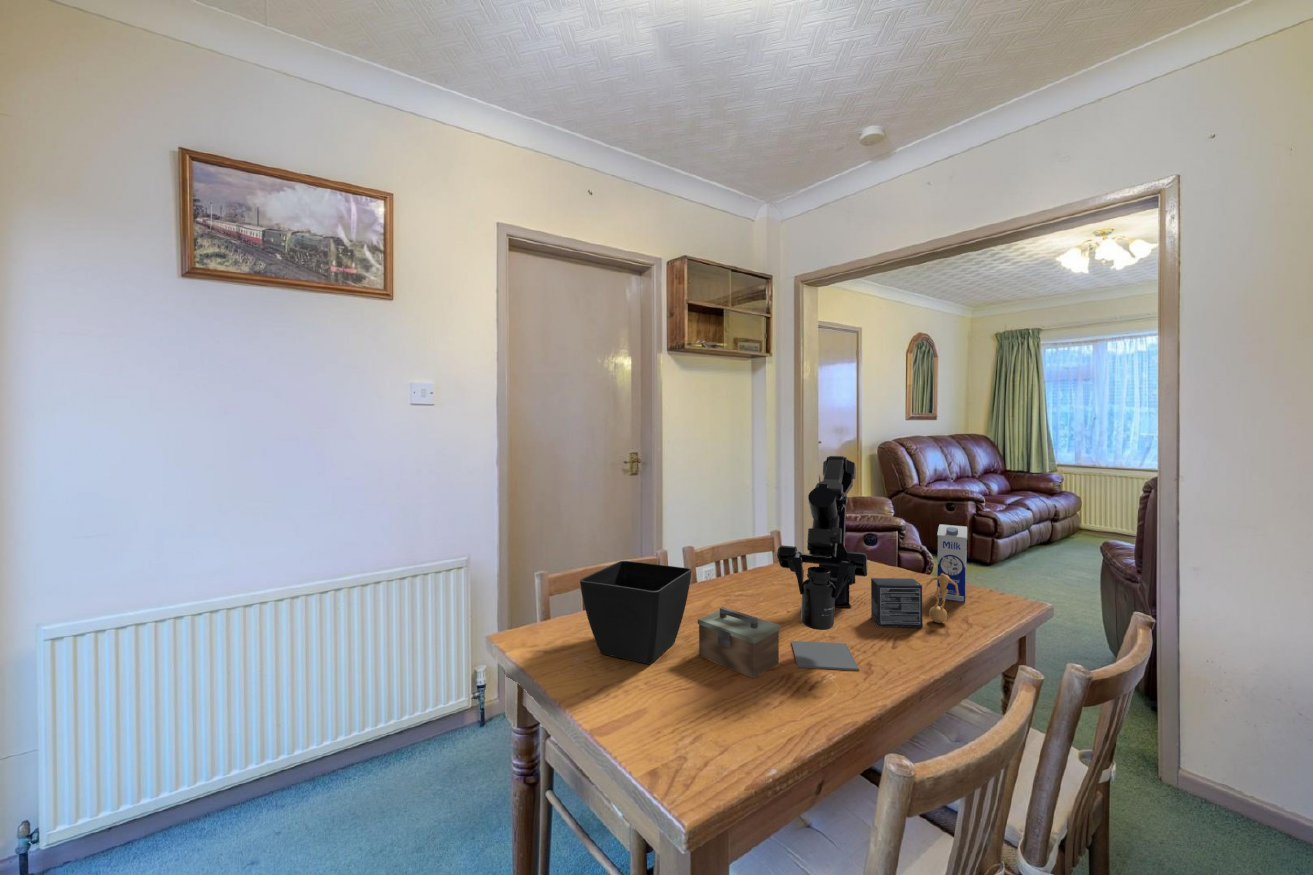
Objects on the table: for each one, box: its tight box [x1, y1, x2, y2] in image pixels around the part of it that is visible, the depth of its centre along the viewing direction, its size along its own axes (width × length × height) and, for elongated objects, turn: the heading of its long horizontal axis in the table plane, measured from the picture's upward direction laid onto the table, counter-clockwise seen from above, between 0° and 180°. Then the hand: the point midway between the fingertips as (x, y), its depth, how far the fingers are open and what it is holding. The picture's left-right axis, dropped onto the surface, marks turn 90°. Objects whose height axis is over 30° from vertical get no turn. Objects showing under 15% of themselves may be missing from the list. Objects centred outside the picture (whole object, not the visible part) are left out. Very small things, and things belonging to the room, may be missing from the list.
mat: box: [790, 640, 860, 671], centre depth 113 cm, size 12×12×1 cm
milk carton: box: [936, 524, 968, 604], centre depth 148 cm, size 7×7×20 cm
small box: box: [870, 577, 924, 629], centre depth 131 cm, size 11×6×10 cm, turn 84°
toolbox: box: [697, 606, 781, 679], centre depth 111 cm, size 14×10×10 cm
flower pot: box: [579, 560, 692, 665], centre depth 117 cm, size 19×19×17 cm
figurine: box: [924, 573, 959, 624], centre depth 131 cm, size 8×6×12 cm
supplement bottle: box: [800, 566, 836, 631], centre depth 113 cm, size 7×7×12 cm
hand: (817, 595), depth 112 cm, fingers closed on supplement bottle, 7 cm apart
